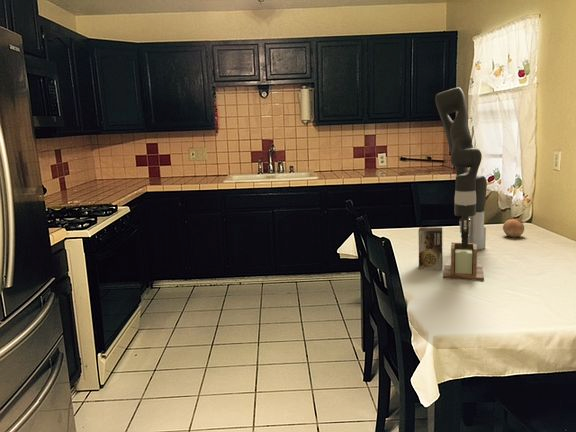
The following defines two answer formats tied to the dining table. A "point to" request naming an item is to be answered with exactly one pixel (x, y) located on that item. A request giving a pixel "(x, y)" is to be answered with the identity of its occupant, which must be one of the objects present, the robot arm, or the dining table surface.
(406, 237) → the dining table surface
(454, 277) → the chute
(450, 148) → the robot arm
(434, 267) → the coffee box
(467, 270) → the block
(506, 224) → the onion
